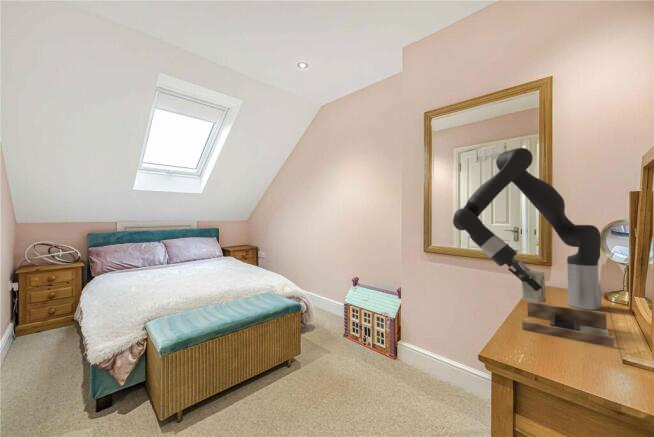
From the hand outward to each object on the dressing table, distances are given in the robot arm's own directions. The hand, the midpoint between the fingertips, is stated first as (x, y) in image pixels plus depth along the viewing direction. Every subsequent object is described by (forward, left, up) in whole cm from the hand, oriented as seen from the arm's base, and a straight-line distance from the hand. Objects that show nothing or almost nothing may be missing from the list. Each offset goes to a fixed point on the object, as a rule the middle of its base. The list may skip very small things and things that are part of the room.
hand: (539, 287), depth 93 cm
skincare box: (+1, -1, -5) cm, 5 cm away
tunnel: (-4, +4, -13) cm, 14 cm away
